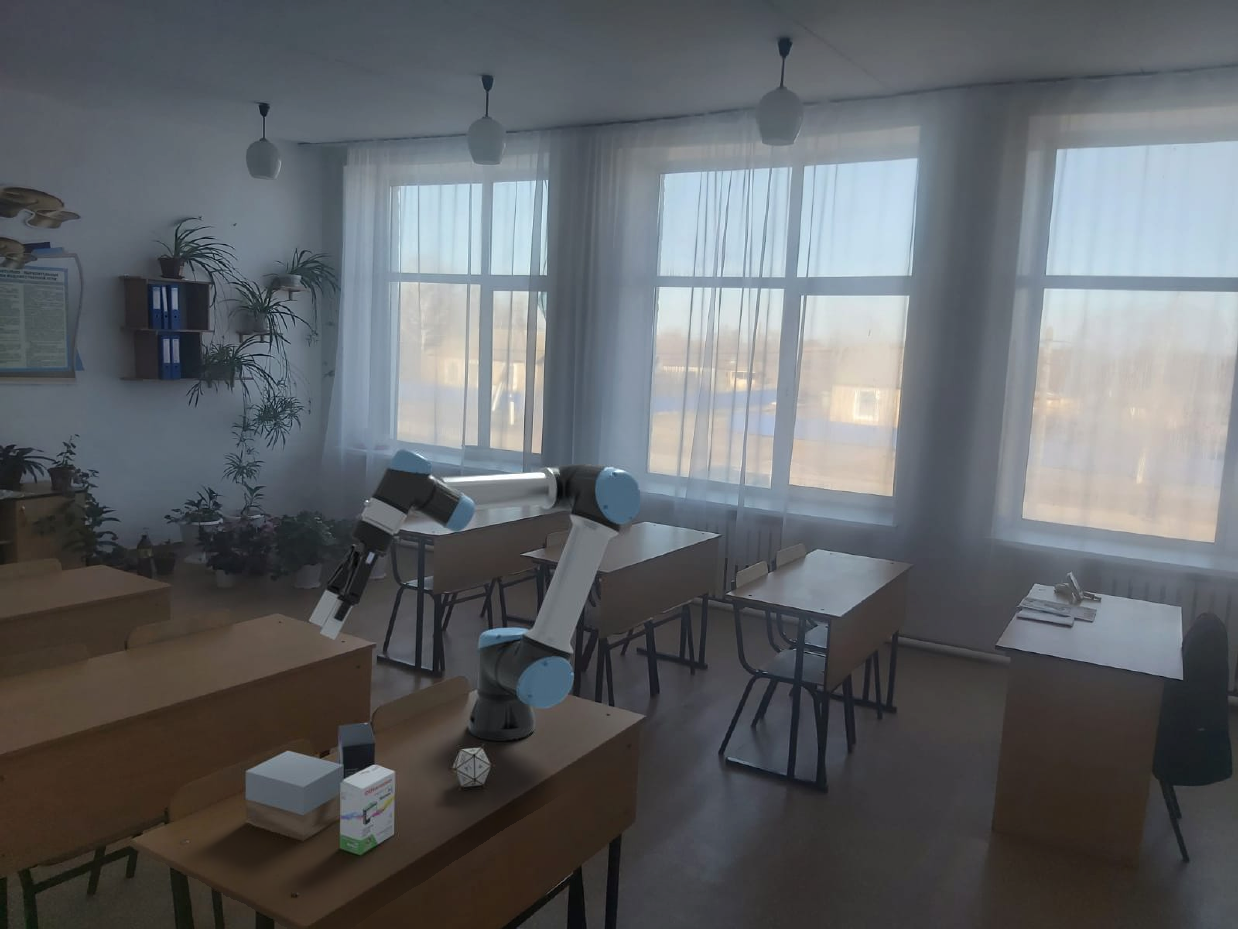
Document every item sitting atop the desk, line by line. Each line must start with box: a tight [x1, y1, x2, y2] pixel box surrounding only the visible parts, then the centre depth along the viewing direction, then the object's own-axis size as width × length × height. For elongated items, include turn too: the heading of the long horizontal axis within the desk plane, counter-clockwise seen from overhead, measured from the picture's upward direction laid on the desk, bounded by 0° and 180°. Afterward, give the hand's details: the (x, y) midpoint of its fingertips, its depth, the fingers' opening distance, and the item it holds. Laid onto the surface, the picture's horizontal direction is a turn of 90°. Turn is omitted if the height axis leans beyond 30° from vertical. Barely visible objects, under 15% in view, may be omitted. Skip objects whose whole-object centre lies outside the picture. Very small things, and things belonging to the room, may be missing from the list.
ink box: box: [339, 764, 396, 856], centre depth 152 cm, size 8×5×12 cm, turn 153°
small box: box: [337, 721, 376, 780], centre depth 173 cm, size 11×6×10 cm, turn 22°
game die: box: [447, 743, 496, 792], centre depth 175 cm, size 9×8×10 cm
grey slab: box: [245, 750, 344, 815], centre depth 159 cm, size 10×13×5 cm
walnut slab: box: [245, 794, 340, 842], centre depth 159 cm, size 10×13×5 cm
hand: (321, 630), depth 163 cm, fingers open, 13 cm apart
